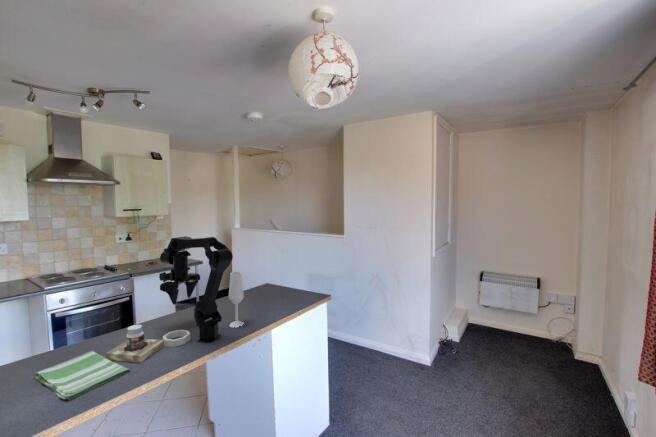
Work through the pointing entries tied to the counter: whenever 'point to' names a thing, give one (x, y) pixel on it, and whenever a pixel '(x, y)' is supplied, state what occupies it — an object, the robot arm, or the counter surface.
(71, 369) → the dish towel
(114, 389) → the counter surface
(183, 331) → the octagonal ring
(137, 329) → the pill bottle
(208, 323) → the robot arm
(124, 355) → the socket plate
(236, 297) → the champagne flute
